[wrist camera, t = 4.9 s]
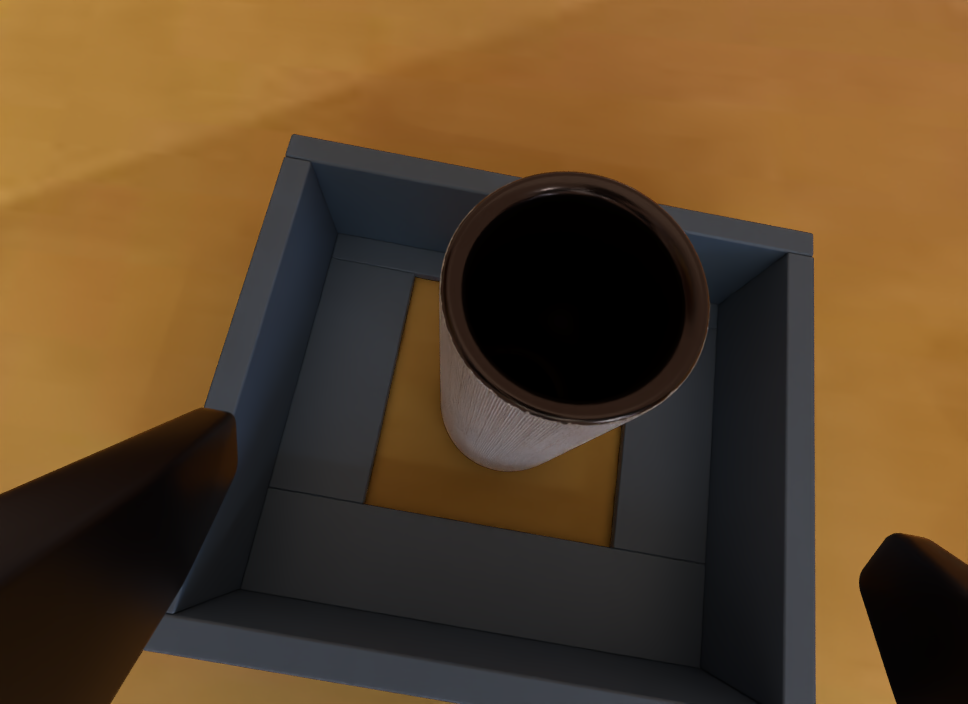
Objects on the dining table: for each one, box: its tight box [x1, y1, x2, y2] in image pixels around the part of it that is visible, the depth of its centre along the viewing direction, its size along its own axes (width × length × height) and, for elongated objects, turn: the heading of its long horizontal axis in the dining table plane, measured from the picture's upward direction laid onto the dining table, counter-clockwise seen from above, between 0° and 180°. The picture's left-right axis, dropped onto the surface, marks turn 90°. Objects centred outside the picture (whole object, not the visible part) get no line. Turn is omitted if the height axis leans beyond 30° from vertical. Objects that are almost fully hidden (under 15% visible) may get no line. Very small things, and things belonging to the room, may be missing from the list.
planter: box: [439, 171, 710, 471], centre depth 14 cm, size 4×4×10 cm
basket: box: [143, 134, 816, 704], centre depth 16 cm, size 14×16×5 cm
